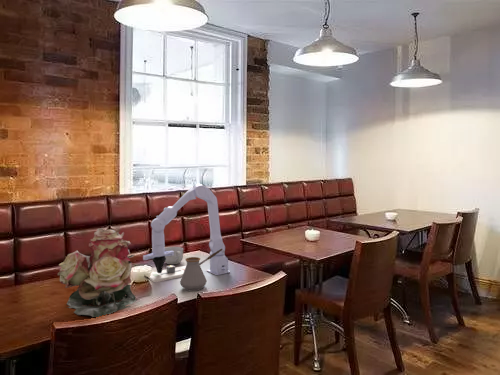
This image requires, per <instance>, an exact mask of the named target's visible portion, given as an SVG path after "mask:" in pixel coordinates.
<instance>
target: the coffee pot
mask: <svg viewBox="0 0 500 375" xmlns="http://www.w3.org/2000/svg"><path fill="white" fill-rule="evenodd" d="M220 251H222V249H220V250H219V251H217V252H215V253H213V254H212V255H210V254H209V256H208V257H206V258H205V259H204V260H201V258H200V257H196V256H191V257H187V258H185V260H184V261H186V265H185V266H186V268H185V270H184V273H183V276H182V277H180V281H179V283H180V286H181V287H182V288H183V289H184V290H185V291H188V292H196V291H199V290H202V289H203V288H204V287H205V286H206V284H207V281H208V280H207V278H206V276H205V273H204V272H203V270H202V268H201V265H203V264H204V263H206V262H207V261H210V258H212V257H214V256H215V255H216V254H217V253H219V252H220ZM223 251H224V250H223ZM224 252H225V251H224ZM224 252H223V253H224ZM224 254H225V253H224Z"/></svg>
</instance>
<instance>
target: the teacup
mask: <svg viewBox="0 0 500 375" xmlns="http://www.w3.org/2000/svg"><path fill="white" fill-rule="evenodd" d="M165 251H174V255H173V256H172V255H171V256H165V258H166V261H165V262H164V263H166V264H168V265H179V263H181V262H182V261H183V259H184V248H183V247H182V246H165Z"/></svg>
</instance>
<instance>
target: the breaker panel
mask: <svg viewBox="0 0 500 375" xmlns="http://www.w3.org/2000/svg"><path fill="white" fill-rule="evenodd" d="M185 268H186V265H183V266H177V267H176V266H175V272H173V273H168V272H167V268H166V269H162V273H157V270H156V271H152V273H151V276H150V280H149V281H151V282H152V283H159V282H163V281H168V280H172V279H179V278H182V276H183V273H184V270H185Z"/></svg>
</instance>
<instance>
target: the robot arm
mask: <svg viewBox="0 0 500 375" xmlns="http://www.w3.org/2000/svg"><path fill="white" fill-rule="evenodd" d="M197 198H198V199H201V200H203V201H204V202H206V203H207V205H206V206H207V212H208V213H207V214H208V221H209V222H208V223H209V232H210V237H209V243H208V247H209V249H210V251H209V256H210V255H212V254H213V253H215V252H217V251H219V250H220V249H222V251H220V252H219V253H217V254H216V255H215V256H214V257H212V258H210V259H209V269H206V271H207V272H208V273H210V274H213V275H215V276H220V275H224V274H228V273H231V271H230V270H229V258H228V257H227V256H226V255H225V251H226V245H225V244H224V242H223V237H222V233H221V226H220V215H219V205H218V204H219V203H218V198H217V196H216V195H215V194H214V193H213V191H212V190H211V189H210V188H209V187H207V186H206V185H203V184H201V183H195V184H194V185H193V186H192V187H191V188H189V189H188V190H187V191H186V192H185V193H184V194H183V195H182V196H181V197H179V199H178V200H177V201H176V202H175V203H174V204H173V205H172V206H167V207H164V208H163V211H162V212H160V214H159V215H156V216H155V217H156V218H154V219H153V220H152V221H151V223H150V227H151V249H152V250H151V253H148V254H144V255H142V260H143V261H147V260H152V261H153V263H154V266H155V268H156V271H157V273H162V270H163V268H164V264H165V263H166V262H165V261H166V258H165V256H171V255H172V256H173V255H174V251H165V248H166V244H165V232H164V230H165V227H166V226H167V225H168V224H169V223H170V222H172V220H173V219H175V218H176V217H177V214H178V212H179V210H181V208H182V207H185V206H184V205H186V204H187V203H188V202H189V201H192V200H194V201H195V200H197ZM223 250H224V251H223ZM223 252H224V253H223Z"/></svg>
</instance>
